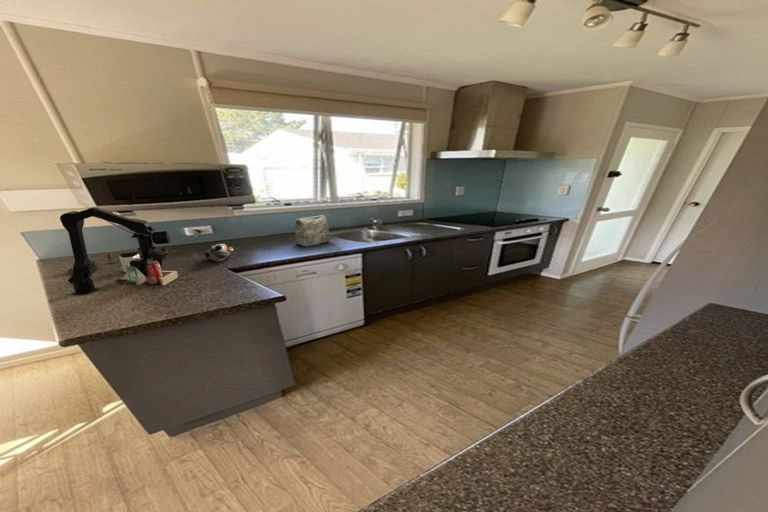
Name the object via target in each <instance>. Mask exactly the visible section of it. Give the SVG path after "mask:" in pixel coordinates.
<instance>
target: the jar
mask: <svg viewBox="0 0 768 512" xmlns="http://www.w3.org/2000/svg"><path fill="white" fill-rule="evenodd" d="M118 254H119V260H120V261H119V262H120V265H121V267H122V271H123V272H124V273H125V274H126V273H127V269H126V266H125V265H127V264H129V262H130V261H131V260H133V259H141V258H140V257H139V256H140V255H141V254H140V253H139V250H138V249H137V248H136V249H135V248H132V249H131V248H130V249H125V250H121V251H119V253H118Z"/></svg>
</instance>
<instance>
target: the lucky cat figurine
mask: <svg viewBox="0 0 768 512" xmlns="http://www.w3.org/2000/svg"><path fill="white" fill-rule="evenodd" d="M234 248H235V247H232V246H231V245H227V244H225V243H217V244H214V245H211V247H210V248H209V249H207V250H205V252H204V257H205V258H206V260H207V261H211V262H212V263H219V262H223V261H224V260H226V259H227V258H228V257H229V256H230V255H231V253H233V252H234Z"/></svg>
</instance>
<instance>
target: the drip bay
mask: <svg viewBox="0 0 768 512" xmlns="http://www.w3.org/2000/svg"><path fill="white" fill-rule="evenodd" d="M161 271H162V275H163V277H162V278H160V281H161V283H160V285H161V287H165V286H166V285H168V284H170V283H171V282H173V281H175V280H176V279H178V278H179V274H178V271H177V270H161ZM135 282H136V283H135V285H136V286H141V285H143V284H145V283H147V280H146V277H145V276H144V275H141V276H139V277H137V278H135Z"/></svg>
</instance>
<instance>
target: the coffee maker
mask: <svg viewBox="0 0 768 512" xmlns="http://www.w3.org/2000/svg"><path fill="white" fill-rule="evenodd" d="M125 266H126V269H127V272H128V271H129V270H130V264H127V265H125ZM133 268H134V270H133V271H132V272H131V273H130V274H129V275H128V277H127V278H126V279H128V281H127V282H118V283H119V284H136V282H135V278H137V277H139V276H141V275H143V274H142V273H141V272H140V271H139V270H138V269H137V268H135V267H133Z"/></svg>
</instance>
